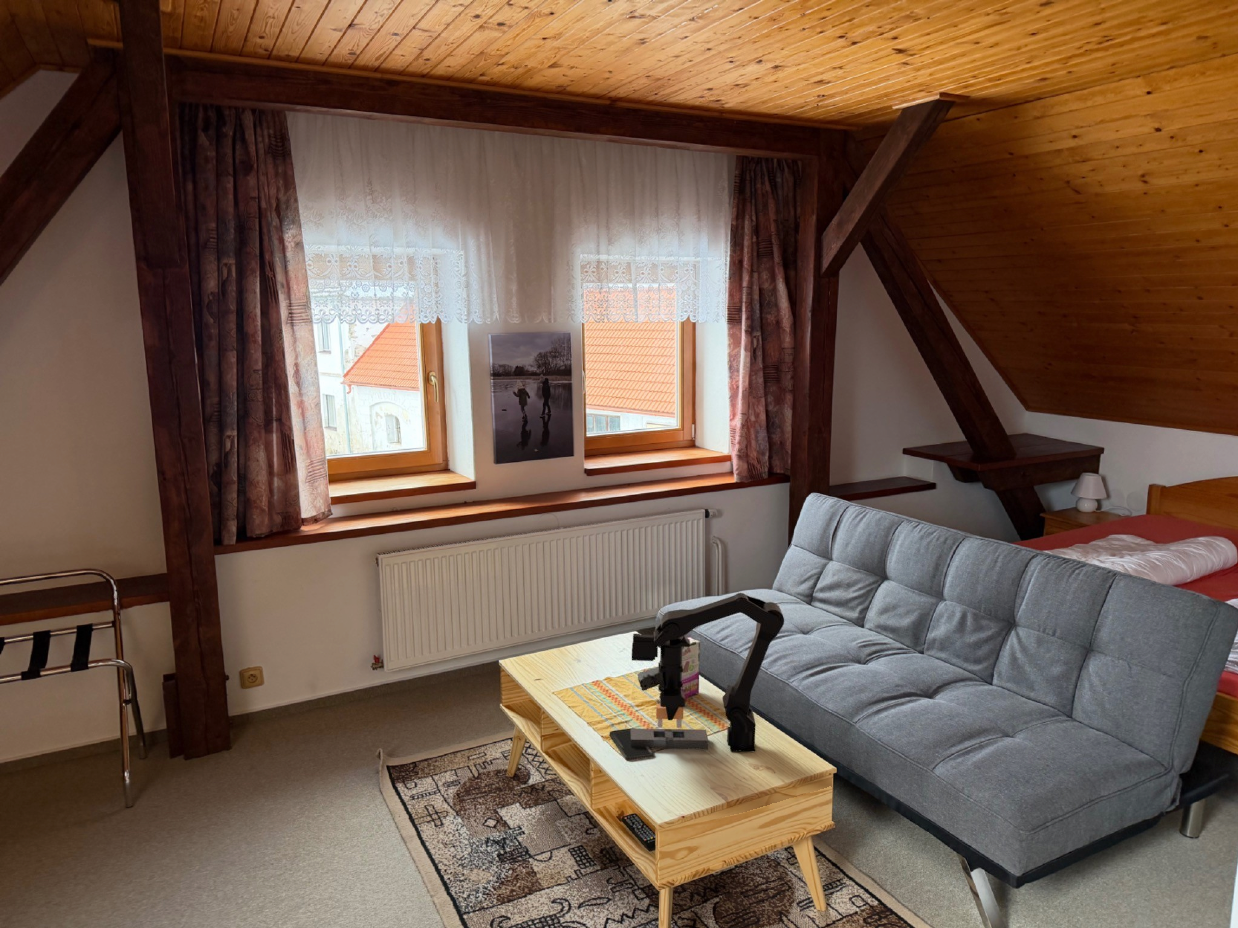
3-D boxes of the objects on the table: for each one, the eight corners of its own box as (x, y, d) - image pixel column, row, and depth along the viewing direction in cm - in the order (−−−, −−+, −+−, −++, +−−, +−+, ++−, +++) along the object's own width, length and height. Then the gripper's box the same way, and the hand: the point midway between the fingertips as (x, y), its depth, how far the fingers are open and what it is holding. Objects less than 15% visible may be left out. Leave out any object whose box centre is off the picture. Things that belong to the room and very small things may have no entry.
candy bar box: (687, 687, 268) (689, 635, 266) (699, 693, 265) (701, 641, 262) (659, 697, 261) (661, 644, 259) (671, 703, 258) (673, 649, 255)
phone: (635, 727, 241) (655, 753, 227) (635, 731, 242) (655, 757, 228) (608, 731, 239) (625, 758, 225) (607, 735, 239) (625, 762, 225)
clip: (682, 723, 235) (682, 704, 234) (683, 728, 232) (683, 708, 231) (655, 723, 235) (656, 703, 234) (656, 727, 232) (656, 707, 231)
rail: (705, 738, 238) (705, 729, 237) (708, 749, 232) (708, 740, 231) (630, 737, 237) (630, 728, 237) (630, 748, 231) (630, 739, 231)
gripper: (638, 646, 240) (637, 701, 242) (641, 675, 221) (639, 734, 224) (680, 647, 240) (679, 701, 242) (686, 675, 221) (684, 734, 224)
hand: (669, 717), depth 233 cm, fingers closed on clip, 2 cm apart
